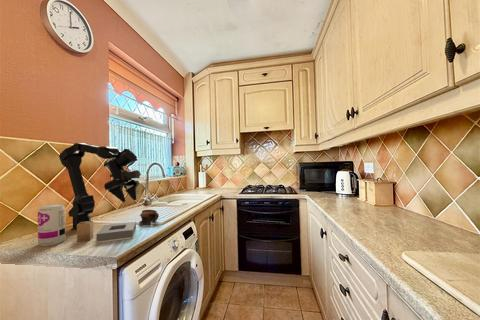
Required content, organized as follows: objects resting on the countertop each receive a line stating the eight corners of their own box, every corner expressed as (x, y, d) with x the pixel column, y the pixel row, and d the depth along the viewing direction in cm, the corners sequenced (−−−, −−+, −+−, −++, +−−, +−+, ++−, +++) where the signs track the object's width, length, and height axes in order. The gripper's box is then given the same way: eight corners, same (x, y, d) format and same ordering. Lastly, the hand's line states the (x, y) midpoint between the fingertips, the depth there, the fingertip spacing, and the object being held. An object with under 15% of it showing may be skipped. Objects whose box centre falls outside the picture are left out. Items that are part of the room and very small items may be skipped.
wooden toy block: (77, 242, 85) (76, 225, 85) (80, 238, 89) (80, 222, 89) (90, 240, 87) (89, 223, 87) (93, 236, 91) (93, 220, 91)
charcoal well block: (96, 242, 84) (96, 234, 84) (104, 232, 96) (104, 225, 96) (132, 238, 88) (132, 229, 88) (135, 228, 101) (135, 221, 101)
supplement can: (46, 248, 80) (45, 208, 80) (33, 245, 82) (33, 207, 82) (70, 240, 87) (69, 204, 87) (57, 238, 90) (57, 203, 90)
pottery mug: (133, 226, 106) (136, 210, 110) (147, 229, 114) (150, 214, 118) (151, 222, 102) (153, 206, 106) (165, 226, 110) (166, 210, 114)
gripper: (121, 161, 90) (135, 194, 88) (142, 165, 108) (154, 192, 107) (97, 172, 90) (111, 206, 88) (123, 174, 108) (134, 202, 106)
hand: (130, 200), depth 97 cm, fingers open, 9 cm apart
